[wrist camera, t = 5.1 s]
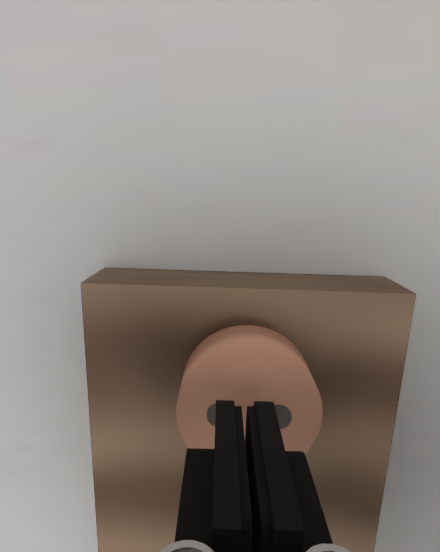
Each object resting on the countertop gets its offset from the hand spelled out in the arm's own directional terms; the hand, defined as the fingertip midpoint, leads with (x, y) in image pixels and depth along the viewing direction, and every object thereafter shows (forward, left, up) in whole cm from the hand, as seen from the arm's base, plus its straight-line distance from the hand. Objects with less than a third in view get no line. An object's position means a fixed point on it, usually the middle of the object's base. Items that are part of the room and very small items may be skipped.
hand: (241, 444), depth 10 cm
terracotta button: (0, 0, -4) cm, 4 cm away
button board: (-8, 0, -8) cm, 11 cm away
